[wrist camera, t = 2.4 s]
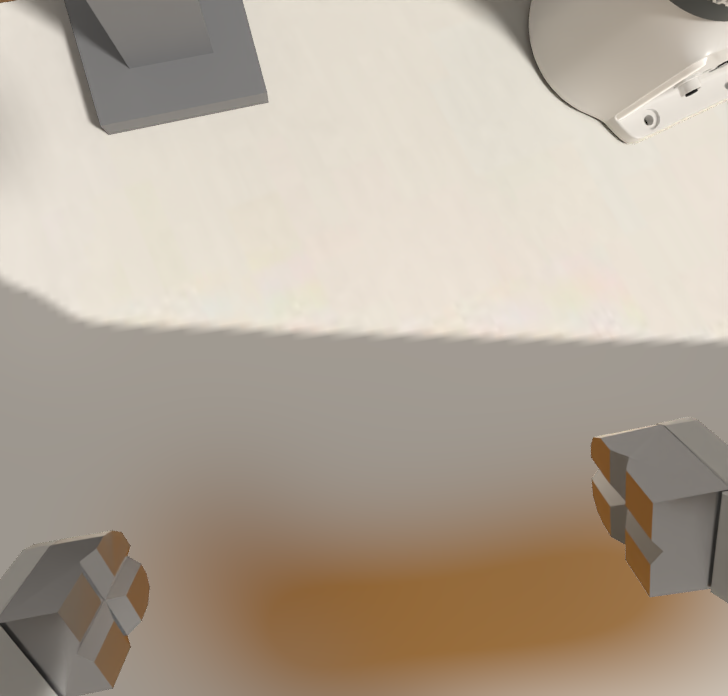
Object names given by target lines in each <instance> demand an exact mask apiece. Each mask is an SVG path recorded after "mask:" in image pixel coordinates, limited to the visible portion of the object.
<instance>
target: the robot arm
mask: <svg viewBox="0 0 728 696" xmlns="http://www.w3.org/2000/svg"><path fill="white" fill-rule="evenodd" d="M529 36H530V43H531V47H532V51H533V55H534V57H535V60H536V63H537V65H538V67H539V69H540V71H541V73H542V75H543V76H544V78H545V79H546V81H547V82H548V84H549V85H550V86H551V88H552V89H553V90H554V91H555V92H556V93H557V94H558V95H559V96H560V97H561V98H562V99H563V100H565V101H566V102H567V103H568V104H570V105H571V106H573V107H574V108H576V109H578V110H580V111H582V112H584V113H586V114H588V115H591V116H593V117H595V118H597V119H599V120H601V121H602V122H604V123H605V124H606V125H607V126H608V127H609V128H610V129H611V131H612V132H613V133H614V134H615V135H616V136H617V137H619V138H620V139H621V140H622V141H624V142H625V143H628V144H636V143H639V142H641V141H643V140H645V139H647V138H649V137H651V136H653V135H656V134H658V133H660V132H662V131H664V130H666V129H668V128H670V127H672V126H674V125H677V124H679V123H681V122H683V121H685V120H687V119H689V118H691V117H693V116H695V115H698V114H700V113H702V112H704V111H706V110H708V109H710V108H712V107H714V106H717V105H719V104H721V103H723V102H725V101H727V100H728V0H532V2H531V6H530V12H529ZM644 119H645V120H646V121H647V125H646V124H645V122H644ZM591 458H592V460H593V461H594V462H595V464H596V465H597V467H598V468H599V469H598V471H597V472H596V473H595V475H594V476H593V478H592V491H593V498H594V501H595V505H596V509H597V512H598V514H599V516H600V518H601V520H602V523H603V525H604V526H605V528H606V529H607V531H608V533H609V534H610V536H611V537H612V538H614V539H616V540H618V541H620V542H621V543H623V544H625V560H626V561H627V563H628V565H629V566H630V568H631V569H632V571H633V572H634V574H635V575H636V577H637V578H638V580H639V581H640V583H641V585H642V586H643V588H644V589H645V591H646V592H647V594H648V595H649V597H655V596H662V595H669V594H676V593H683V592H690V591H697V590H704V589H711V592H712V593H713V594H715V595H717V596H718V597H719V598H721V599H723V600H724V601H725V602H727V603H728V445H727V444H726V443H725V442H724V441H723V440H721V439H720V438H719V437H718V436H717V435H715V434H714V433H713V432H712V431H711V430H709V429H708V428H707V427H706V426H704V425H703V424H702V423H701V422H700V421H699V420H697V419H695V418H692V417H685V418H680V419H675V420H671V421H666V422H661V423H657V424H656V425H651V426H646V427H641V428H636V429H631V430H626V431H621V432H616V433H611V434H606V435H601V436H596V437H593V439H592V442H591ZM130 546H131V545H130V544H129V542H128V541H127V539H126V538H125V536H124V535H123V533H122V532H118V531H113V530H111V531H105V532H99V533H94V534H88V535H82V536H76V537H70V538H64V539H60V540H55V541H49V542H43V543H38V544H33V545H32V546H30V547H28V548H26V549H24V550H23V551H22V552H21V553H20V555H19V556H18V557H17V558H16V560H15V561H14V562H13V564H12V565H11V566H10V567H9V569H8V570H7V571H6V572H5V574H4V575H3V576H2V578H1V579H0V696H79V695H84V694H89V693H94V692H99V691H103V690H109V689H113V687H114V685H115V683H116V680H117V678H118V676H119V673H120V671H121V669H122V666H123V664H124V662H125V659H126V657H127V655H128V652H129V650H130V648H131V646H130V642H129V639H128V634H129V633H130V632H131V631H132V630H133V629H134V628H135V627H136V626H137V625H138V624H139V623H140V622H141V621H142V619H143V617H144V614H145V612H146V609H147V606H148V601H149V590H150V586H149V581H148V577H147V573H146V571H145V570H144V568H143V566H142V564H141V563H139V562H137V561H136V560H134V559H132V558H130V557H128V553H129V549H130Z"/></svg>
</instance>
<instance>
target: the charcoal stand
mask: <svg viewBox="0 0 728 696" xmlns="http://www.w3.org/2000/svg"><path fill="white" fill-rule="evenodd" d="M64 1H65V4H66V8H67V11H68V15H69V18H70V22H71V25H72V29H73V32H74V36H75V39H76V43H77V46H78V50H79V53H80V57H81V60H82V63H83V67H84V70H85V74H86V77H87V81H88V84H89V88H90V91H91V95H92V98H93V102H94V105H95V109H96V112H97V116H98V119H99V123H100V126H101V127H102V128H103V129H104V130H105V131H106V132H107V133H108V134H109V135H110V134H115V133H120V132H125V131H130V130H135V129H140V128H145V127H150V126H155V125H159V124H164V123H169V122H174V121H179V120H184V119H189V118H194V117H199V116H204V115H209V114H214V113H219V112H223V111H228V110H233V109H238V108H243V107H248V106H253V105H258V104H263V103H268V96H267V91H266V87H265V83H264V79H263V76H262V72H261V68H260V64H259V61H258V57H257V53H256V49H255V46H254V42H253V38H252V35H251V31H250V27H249V23H248V20H247V16H246V12H245V8H244V5H243V1H242V0H64Z"/></svg>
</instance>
